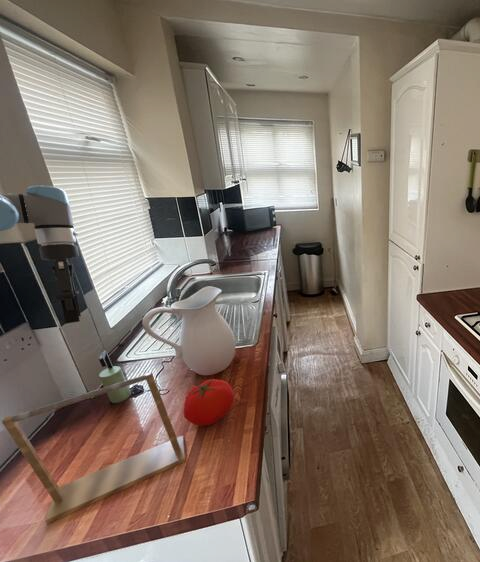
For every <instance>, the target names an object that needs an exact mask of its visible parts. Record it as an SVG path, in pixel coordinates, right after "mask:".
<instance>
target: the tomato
mask: <svg viewBox="0 0 480 562" xmlns="http://www.w3.org/2000/svg"><path fill="white" fill-rule="evenodd" d="M234 400H235V395H234V390H233V388H232V386H231V385H230V383H229V382H227V381H225V380H221V379H214V378H211V379H207V380H204V381H203V382H202V383H201V384H197V385H195V386H192V388H191V389H190V390H189V391H188V393H187V394H186V396H185V400H184V405H183V417H184V419H185V420H187V421H188V422H189V423H191V424H192V425H193V426H200V427H205V426H211V425H212V424H214V423H216V422H218V421H219V420H220V419H222V418H223V417H224V416H226V414H227V413H228V412H229V411H230V409H231V407H232V405H233V403H234Z"/></svg>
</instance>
